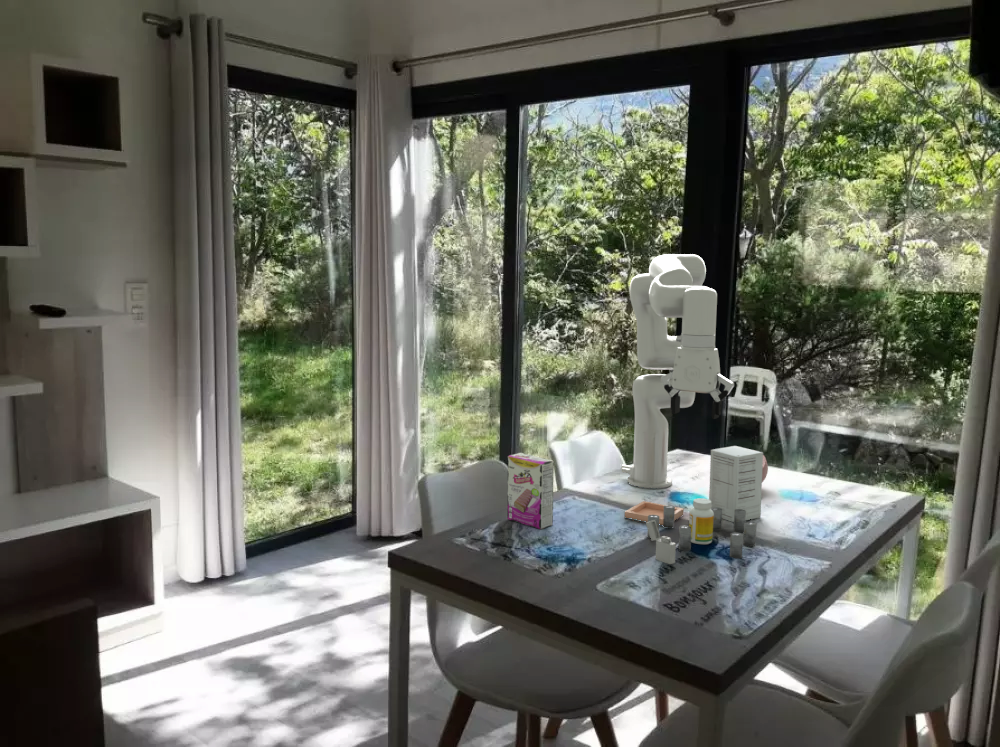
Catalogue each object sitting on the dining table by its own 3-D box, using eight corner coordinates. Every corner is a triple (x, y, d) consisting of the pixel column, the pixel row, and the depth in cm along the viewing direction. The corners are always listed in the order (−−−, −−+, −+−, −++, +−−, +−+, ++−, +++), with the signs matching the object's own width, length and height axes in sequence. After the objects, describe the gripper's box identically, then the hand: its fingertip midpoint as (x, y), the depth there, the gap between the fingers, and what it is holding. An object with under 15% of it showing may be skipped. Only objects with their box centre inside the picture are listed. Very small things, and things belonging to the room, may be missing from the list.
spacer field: (639, 541, 189) (640, 520, 188) (677, 517, 207) (677, 497, 206) (736, 562, 176) (737, 539, 176) (767, 534, 194) (768, 514, 193)
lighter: (675, 562, 176) (676, 526, 175) (670, 564, 175) (671, 528, 174) (649, 553, 181) (650, 518, 180) (644, 555, 180) (645, 520, 179)
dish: (624, 518, 205) (624, 511, 205) (643, 507, 214) (643, 501, 214) (665, 527, 199) (666, 519, 199) (683, 515, 208) (683, 508, 208)
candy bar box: (506, 520, 204) (506, 455, 201) (519, 515, 207) (520, 452, 205) (540, 530, 196) (541, 463, 194) (553, 525, 200) (554, 459, 197)
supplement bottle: (683, 540, 190) (685, 500, 189) (698, 535, 193) (699, 495, 192) (702, 546, 186) (704, 505, 184) (717, 541, 189) (719, 501, 188)
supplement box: (761, 518, 207) (765, 452, 204) (735, 523, 202) (738, 456, 199) (733, 507, 215) (735, 444, 212) (707, 513, 210) (709, 448, 208)
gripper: (656, 341, 190) (653, 413, 193) (729, 346, 181) (726, 422, 183) (669, 338, 197) (666, 409, 199) (740, 343, 187) (737, 417, 189)
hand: (695, 415), depth 191 cm, fingers open, 9 cm apart
